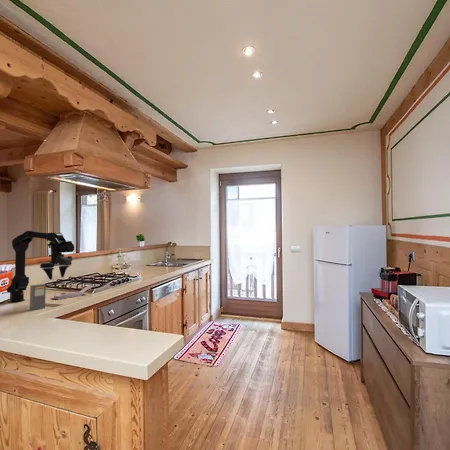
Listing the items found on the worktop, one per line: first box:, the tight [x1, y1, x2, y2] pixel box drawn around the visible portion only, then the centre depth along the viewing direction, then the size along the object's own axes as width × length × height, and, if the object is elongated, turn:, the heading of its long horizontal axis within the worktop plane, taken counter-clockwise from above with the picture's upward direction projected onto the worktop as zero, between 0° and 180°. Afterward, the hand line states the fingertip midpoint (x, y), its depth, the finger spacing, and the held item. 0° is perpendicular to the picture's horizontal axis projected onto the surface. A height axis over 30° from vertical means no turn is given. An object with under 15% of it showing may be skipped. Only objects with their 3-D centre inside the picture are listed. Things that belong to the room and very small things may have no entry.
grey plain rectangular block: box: [29, 283, 47, 311], centre depth 148 cm, size 4×6×13 cm
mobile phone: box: [50, 285, 93, 300], centre depth 180 cm, size 6×6×25 cm
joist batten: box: [45, 302, 63, 308], centre depth 155 cm, size 12×5×1 cm, turn 76°
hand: (56, 278), depth 164 cm, fingers open, 9 cm apart
